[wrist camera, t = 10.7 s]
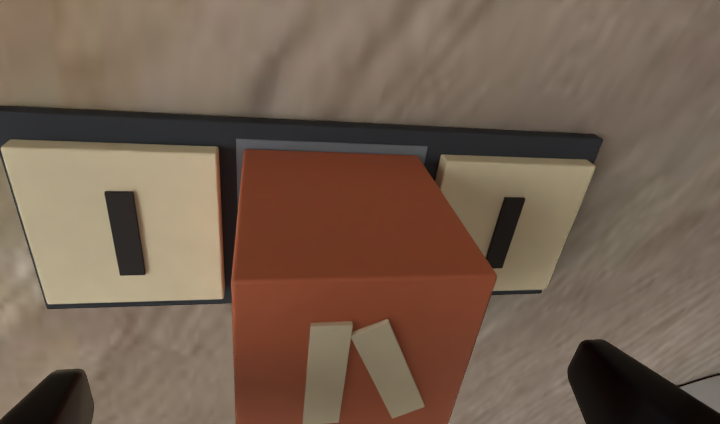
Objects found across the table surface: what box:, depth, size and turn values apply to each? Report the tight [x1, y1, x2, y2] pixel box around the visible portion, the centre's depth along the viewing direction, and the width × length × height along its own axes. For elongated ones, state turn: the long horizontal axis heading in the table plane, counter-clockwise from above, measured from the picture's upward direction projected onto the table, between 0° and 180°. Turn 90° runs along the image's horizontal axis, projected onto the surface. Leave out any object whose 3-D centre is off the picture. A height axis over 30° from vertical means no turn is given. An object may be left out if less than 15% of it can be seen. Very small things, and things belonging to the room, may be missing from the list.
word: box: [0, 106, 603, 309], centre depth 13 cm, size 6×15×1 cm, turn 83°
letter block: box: [231, 149, 497, 424], centre depth 11 cm, size 4×4×5 cm
